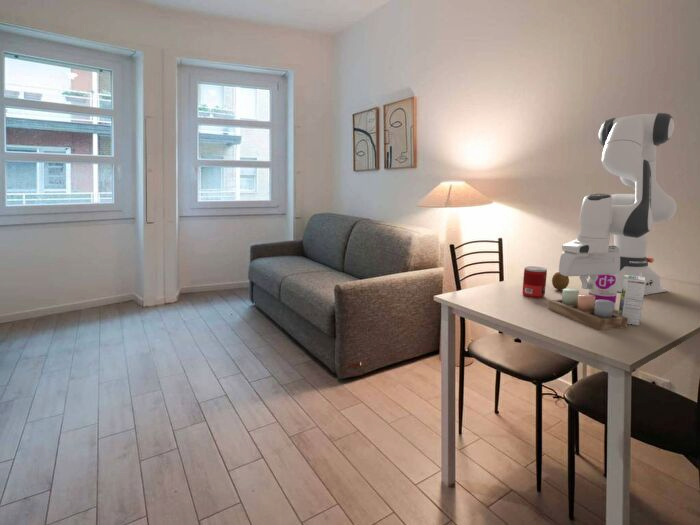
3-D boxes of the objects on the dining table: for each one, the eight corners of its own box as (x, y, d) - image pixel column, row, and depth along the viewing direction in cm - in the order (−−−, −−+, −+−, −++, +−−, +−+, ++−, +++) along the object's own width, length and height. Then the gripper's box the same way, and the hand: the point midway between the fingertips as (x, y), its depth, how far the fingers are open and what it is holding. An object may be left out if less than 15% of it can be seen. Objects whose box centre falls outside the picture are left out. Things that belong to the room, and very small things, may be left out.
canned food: (546, 298, 154) (549, 270, 152) (524, 297, 155) (526, 269, 153) (541, 293, 161) (544, 266, 159) (520, 292, 163) (522, 265, 161)
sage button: (570, 302, 141) (571, 288, 140) (580, 305, 137) (582, 291, 136) (558, 302, 140) (559, 288, 139) (568, 306, 136) (569, 292, 135)
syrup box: (617, 317, 132) (623, 274, 129) (639, 321, 128) (646, 276, 126) (617, 322, 127) (622, 277, 124) (640, 326, 124) (646, 280, 121)
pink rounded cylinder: (585, 307, 135) (587, 293, 134) (597, 312, 130) (599, 297, 129) (573, 308, 134) (574, 294, 133) (584, 313, 129) (586, 298, 128)
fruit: (559, 287, 170) (561, 269, 169) (571, 291, 165) (573, 272, 163) (547, 289, 168) (549, 270, 167) (559, 292, 163) (561, 273, 161)
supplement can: (614, 313, 136) (620, 269, 133) (586, 309, 140) (591, 267, 138) (614, 307, 143) (619, 265, 140) (587, 303, 147) (591, 263, 144)
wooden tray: (572, 306, 144) (573, 298, 143) (626, 327, 123) (627, 317, 122) (548, 308, 142) (548, 300, 141) (598, 329, 121) (599, 320, 120)
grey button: (602, 314, 128) (604, 298, 127) (615, 319, 123) (617, 303, 122) (590, 315, 127) (591, 299, 126) (602, 320, 122) (604, 304, 121)
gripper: (611, 243, 133) (606, 284, 135) (557, 245, 129) (553, 287, 131) (628, 246, 127) (622, 289, 129) (572, 248, 123) (567, 292, 125)
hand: (587, 288), depth 130 cm, fingers closed
